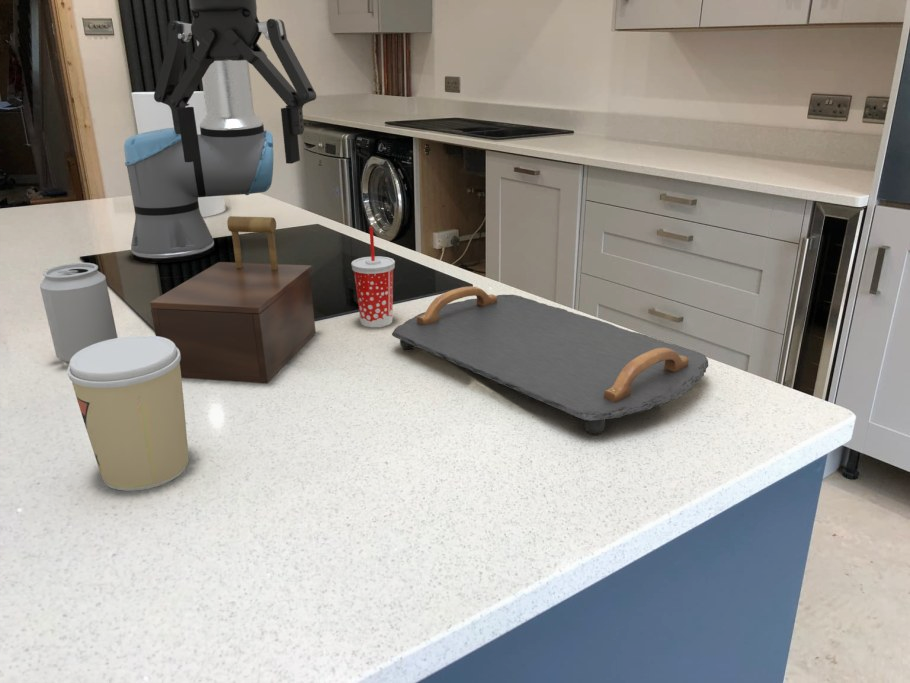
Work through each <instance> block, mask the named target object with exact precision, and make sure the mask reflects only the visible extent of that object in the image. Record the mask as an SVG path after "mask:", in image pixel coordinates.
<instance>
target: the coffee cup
mask: <svg viewBox="0 0 910 683" xmlns="http://www.w3.org/2000/svg"><path fill="white" fill-rule="evenodd" d="M180 359H181V356H180V351H179V349H178V348H177V347H176V346H175V344H174V343H173V342H172V341H171V340H169V339H167V338H163V337H159V336H156V335H148V334H147V335H146V334H145V335H144V334H143V335H142V334H141V335H129V336H120V337H119V336H118V338H115V339H110V340H106V341H102V342H99V343H96V344H93V345H90V346H88V347H86V348H84V349H82V350H80V351H79V352H77V353H76V354H75V355H74V356H73V357H72V358H71V360H70V363H69V364H68V366H67V371H66V372H67V375H68V378H69V380H70V381H71V383H72V387H73V391H74V393H75V394H74V395H75V397H76V400H77V404H78V407H79V410H80V413H81V416H82V417H81V418H82V419H83V423H84V427H85V429H86V433H87V436H88V439H89V443H90V446H91V448H92V452H93V455H94V458H95V461H96V464H97V468H98V471H99V473H100V476H101V478H102V481H103V482H104V484H105V485H106V486H108V487H109V488H111V489H114V490H117V491H125V492H136V491H144V490H150V489H153V488H157V487H159V486H163V485H165V484H167V483H169V482H172V481H173V480H175V479H176V478H178V477H179V476H181V475H182V473H183V472H185V470H186V469H187V467H188V464H189V445H188V434H187V433H188V432H187V424H186V423H187V422H186V412H185V400H184V388H183V378H181V369H180Z"/></svg>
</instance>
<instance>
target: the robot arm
mask: <svg viewBox="0 0 910 683" xmlns="http://www.w3.org/2000/svg"><path fill="white" fill-rule="evenodd" d="M189 8H190V11H191V14H192V22H191V23H187V22H185V21H181V20H170V21H169V22H168V25H167V32H168V41H167V47H166V49H165V53H164V57H163V61H162V65H161V68H160V72H159V75H158V79H157V83H156V86H155V90H154V92H155V93H154V99H155V101H157V102H161V103H164V104H167V105H168V106H169V107H170V108H171V111H172V118H173V125H174V128H166V129H160V130H155V131H150V132H145V133H141V134H138V133H137V134H135V135H131V136H130V137H128V138H127V139H126V140H125V141H124V144H123V149H124V158H125V162H124V166H125V167H126V170H127V174H128V180H129V186H130V193H131V199H132V204H133V210H134V214H135V219H134V224H133V232H132V238H131V242H130V243H131V244H130V250H131V251H130V252H131V258H133V260H135V261H138V262H142V263H150V264H151V263H152V264H161V263H163V264H164V263H177V262H178V263H179V262H184V261H190V260H195V259H198V258H202V257H203V258H204V257H205V256H209V255H210V254H212V253H213V252H214V251H215V249H216V246H215V240H214V237H213V236H212V233H211V231H210V229H209V227H208V226H207V223H206V222H205V220H204V217H202V215H201V213H200V210H199V203H198V197H211V196H224V197H225V196H237V195H238V196H240V195H242V196H243V195H245V196H250V195H252V194H260V193H261V194H262V193H266V192H267V191H269V190H270V188H271V187H272V182H273V175H274V136H273V133H272V132H271V131H269V130H267V129H265V126H264V121H263V120H262V119H260V117H259V116H257V115H256V114H255V109H254V100H253V91H252V82H251V81H252V80H251V73H250V65H251V66H252V67H253V68H254V69H255V70H256V71H257V72H258V73H259V75H260V76H261V77H262V78H263V79H264V80H265V82H266V83H267V84H268V85H269V86H270V87H271V89H272V90H273V91H274V92H275V93H276V94H277V96H278V97H279V98H280V99H281V100H282V101H283V102H284V103H285V106H284V107H281V108H280V116H281V125H282V135H283V144H284V146H283V147H284V154H285V155H284V156H285V164H288V165H289V164H290V165H291V164H294V163H295V164H296V163H297V162H299V161H301V159H300V158H301V156H300V147H299V146H300V144H299V136H300V135H303V134H304V132H305V125H304V113H303V107H304V105H306V104H308V103H310V102H313V101H315V100H316V99H317V93H316V90H315V89H314V87H313V85H312V83H311V81H310V80H309V78H308V76H307V74H306V72H305V70H304V68H303V67H302V64H301V63H300V60H299V58H298V57H297V55H296V53H295V51H294V49H293V47H292V46H291V44H290V42H289V40H288V37H287V36H288V35H287V31H286V26H285V23H284V21H283V20H282V19H278V18H269V19H267V21H260V20H259V18H258V14H257V12H258V11H257V10H258V6H257V0H189ZM262 34H263V35H264V38H265V39H266V40H268V41H269V43H270V45H271V47H272V49H273V51H274V52H275V55H276V56H277V58H278V60H279V62H280V64H281V66H282V67H283V69H284V71H285V73H286V75H287V77H288V78H289V81H290V82H291V83H290V82H289V81H288V80H287V79H286V77H284V75H283V73H281V72H280V71H279V70H278V68H277V67H276V66H275V65H274V64H273V62H271V60H270V59H269V58H268V54H267V53H266V52H265V51H264V50H263V48H261V46H260V45H259V44H258V42H259V40H260V38H261V36H262ZM193 37H194V39H195V40H196V45H197V47H196V48H195V50H194V52H193V54H192V56H191V57H192V59H191V60H190V62H189V64H188V65H187V67H186V69H185V71H184V72H183V74H182V76H181V78H180V75H181V71H182V69H183V64H184V61H185V58H186V54H187V50H188V46H189V42H190V41H191V40H192V38H193ZM179 79H180V80H179ZM201 82H202V89H203V90H202V91H204V98H205V106H206V113H207V114H206V117H205V118H204V119H203V121H202V122H201V123H200V131H201V134H198V135H197V128H196V121H195V114H194V107H186V106H188V105H189V104H187V103H188V101H189V99H190V98H191V96H192V94H193V93H194V91H196V90H197V88H198V86H199V85H200V83H201ZM291 84H292V85H291Z"/></svg>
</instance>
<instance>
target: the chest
mask: <svg viewBox="0 0 910 683" xmlns="http://www.w3.org/2000/svg"><path fill="white" fill-rule="evenodd" d="M311 277H312V276H311V272H310V273H309V274H308V275H306V276H305V277H304V278H303V279H301V280H300V281H299V282H298V283H296V284H295V285H294V286H293V287H292V288H290V289H289V290H288V291H287V292H285V293H284V294H283V295H282V296H280V297H279V298H278V299H277V300H275V301H274V302H273V303H272V304H270V305H269V306H268V307H267V308H266V309H264V310H263V311H262V312H261V313H259V314H255V313H235V312H215V311H194V310H174V309H154V308H150V311H151V312H150V313H151V318H152V323H153V329H154V334H155V335H154V336H159V337H163V338H167V339H169V340H171V341H172V342H173V343H174V344H175V346H176V347H177V348H178V349H179V351H180V356H181V359H180V369H181V378H182V379H192V380H207V381H220V382H221V381H222V382H236V383H238V382H240V383H253V384H266V385H267V384H269V383H270V382H271V381H272V380H273V379H274V378H275V376H276V375H277V374H279V372H280V371H282V369H284V367H285V366H286V365H287V364H288V363H289V362H290V361H291V360H292V359H293V358H294V357H295V355H296V354H298V353H299V352H300V350H302V348H303V347H304V346H305V345H306V344H307V343H308V342H309V341H310V340H311V339H312V338H313V337H314V336H315V335H316V334H317V332H316V321H315V313H314V312H315V311H314V301H313V300H314V299H313V290H312V279H311Z"/></svg>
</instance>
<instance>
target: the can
mask: <svg viewBox="0 0 910 683" xmlns="http://www.w3.org/2000/svg"><path fill="white" fill-rule="evenodd" d="M98 269H99V265H98V264H95V263H91V262H72V263H65V264H60V265H55V266H52V267H49V268H47V269H46V270H44V271H43V272H42V276H43V277H44V278H43V279H42V281H41V283H40V284H39V289H40V293H41V298H42V301H43V305H44V310H45V314H46V318H47V322H48V327H49V331H50V335H51V336H50V337H51V339H52V343H53V349H54V352H55V357H56V358H57V359H58V360H60V361H63V362H65V364H67V365H69V363H70V360H71V358H72V357H73V356H74V355H75V354H76V353H77V352H79V351H80V350H82V349H84V348H86V347H88V346H90V345H93V344H96V343H99V342H102V341H106V340H110V339H115V338H119V336H118V333H117V327H116V323H115V318H114V311H113V308H112V302H111V296H110V293H109V288H108V283H107V277H106V275H105V274H104V273H102V272H101V271H99V270H98Z"/></svg>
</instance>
